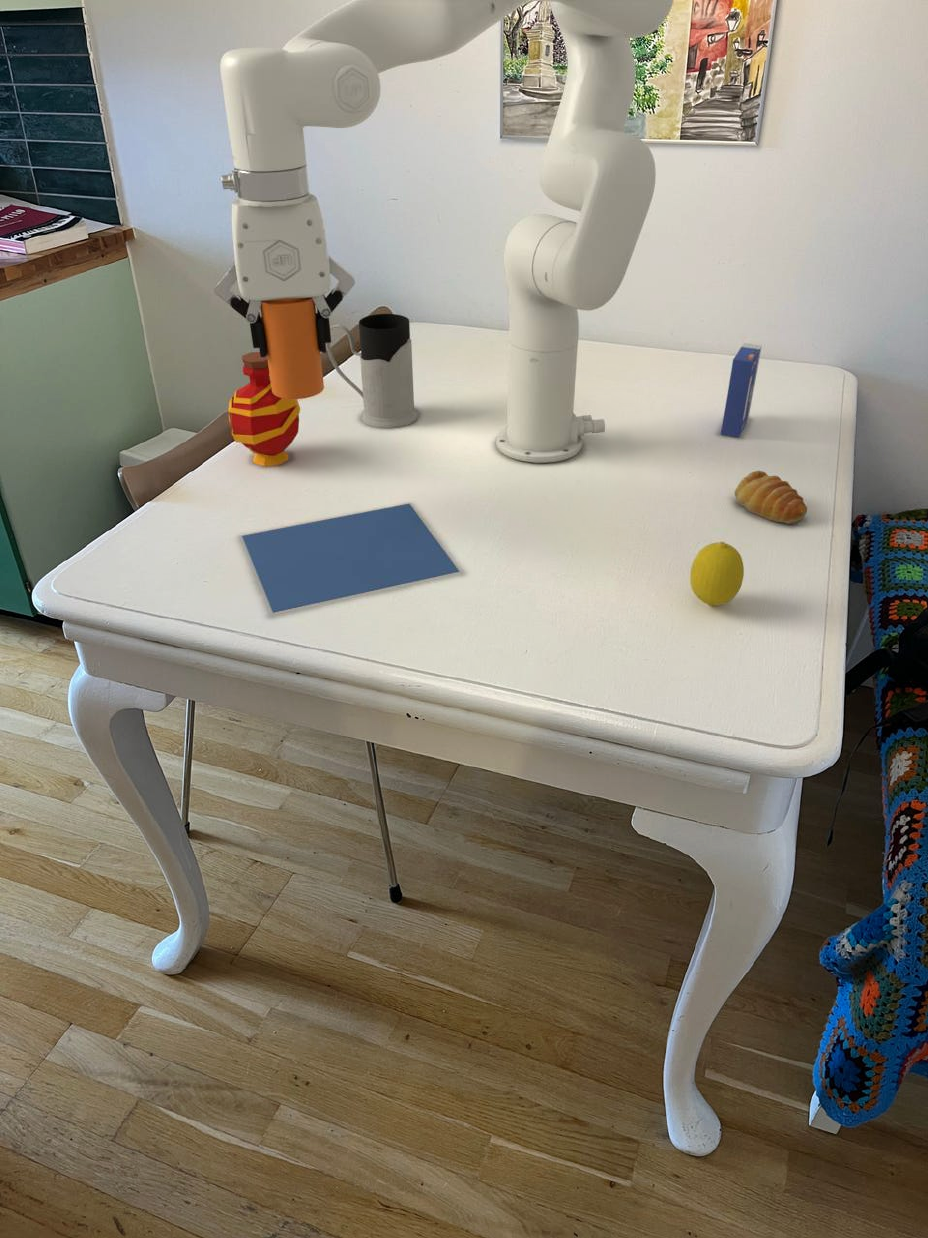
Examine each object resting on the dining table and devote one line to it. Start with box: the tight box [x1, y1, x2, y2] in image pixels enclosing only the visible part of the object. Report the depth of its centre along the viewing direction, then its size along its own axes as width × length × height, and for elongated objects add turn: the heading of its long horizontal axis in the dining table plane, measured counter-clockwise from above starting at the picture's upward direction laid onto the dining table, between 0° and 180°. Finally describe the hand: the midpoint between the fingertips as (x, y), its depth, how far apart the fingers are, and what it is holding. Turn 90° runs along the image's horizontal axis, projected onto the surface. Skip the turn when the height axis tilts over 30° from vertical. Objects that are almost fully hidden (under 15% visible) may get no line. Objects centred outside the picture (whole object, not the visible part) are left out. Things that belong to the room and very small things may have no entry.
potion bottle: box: [227, 351, 302, 467], centre depth 129 cm, size 10×10×15 cm
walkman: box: [720, 342, 762, 439], centre depth 138 cm, size 8×3×12 cm, turn 155°
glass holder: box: [326, 313, 418, 429], centre depth 142 cm, size 9×14×15 cm, turn 71°
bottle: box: [259, 297, 325, 400], centre depth 106 cm, size 6×6×17 cm
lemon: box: [689, 541, 745, 607], centre depth 100 cm, size 6×6×8 cm
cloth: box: [241, 503, 460, 613], centre depth 111 cm, size 22×18×1 cm
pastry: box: [734, 470, 808, 525], centre depth 119 cm, size 9×7×4 cm
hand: (293, 349), depth 108 cm, fingers closed on bottle, 6 cm apart
